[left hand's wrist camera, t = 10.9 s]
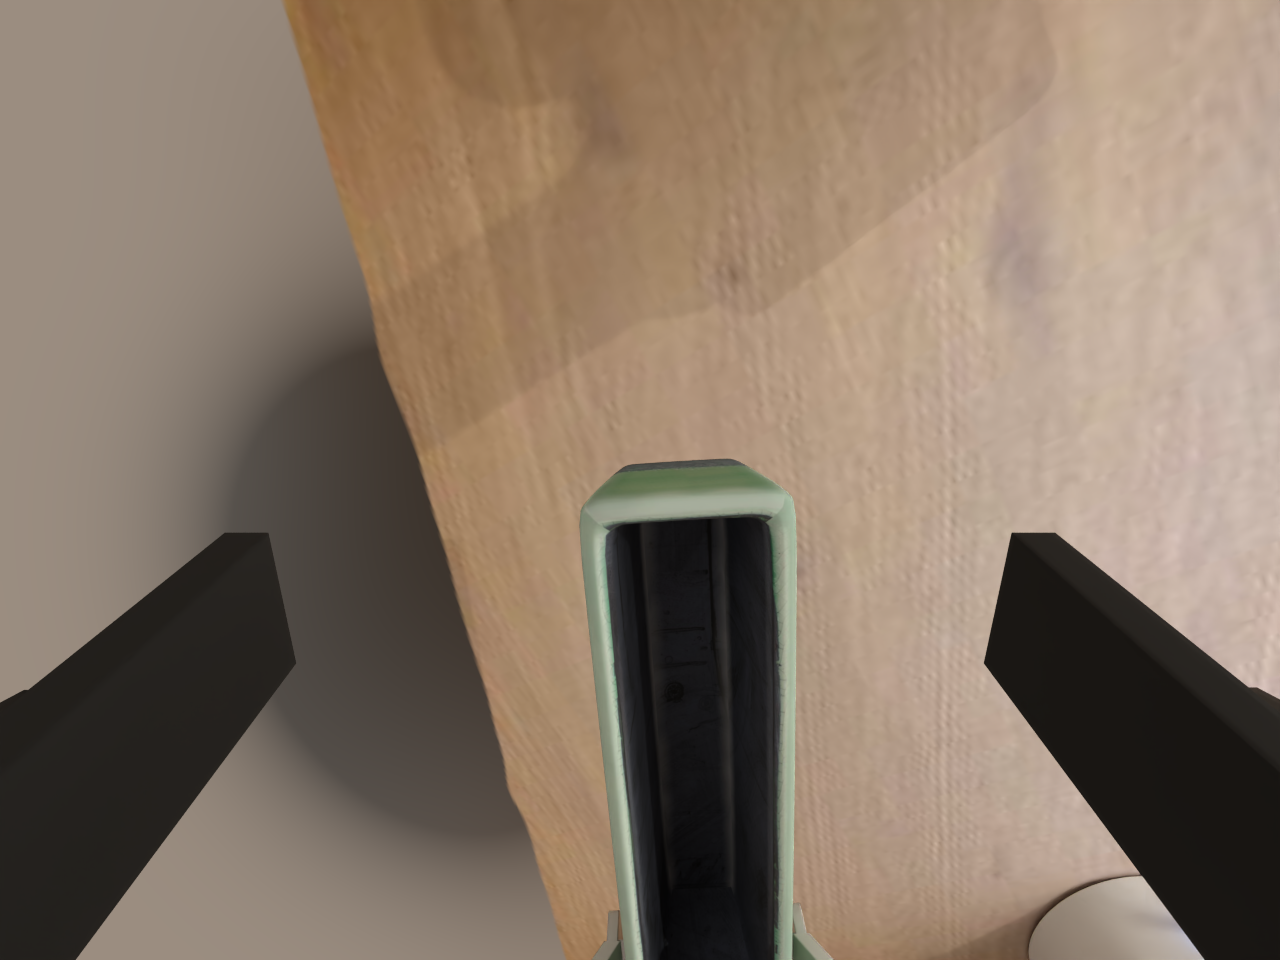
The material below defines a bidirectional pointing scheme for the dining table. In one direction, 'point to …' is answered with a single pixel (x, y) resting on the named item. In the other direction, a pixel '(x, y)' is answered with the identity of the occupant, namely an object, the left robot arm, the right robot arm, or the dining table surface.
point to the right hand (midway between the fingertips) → (705, 914)
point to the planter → (696, 704)
